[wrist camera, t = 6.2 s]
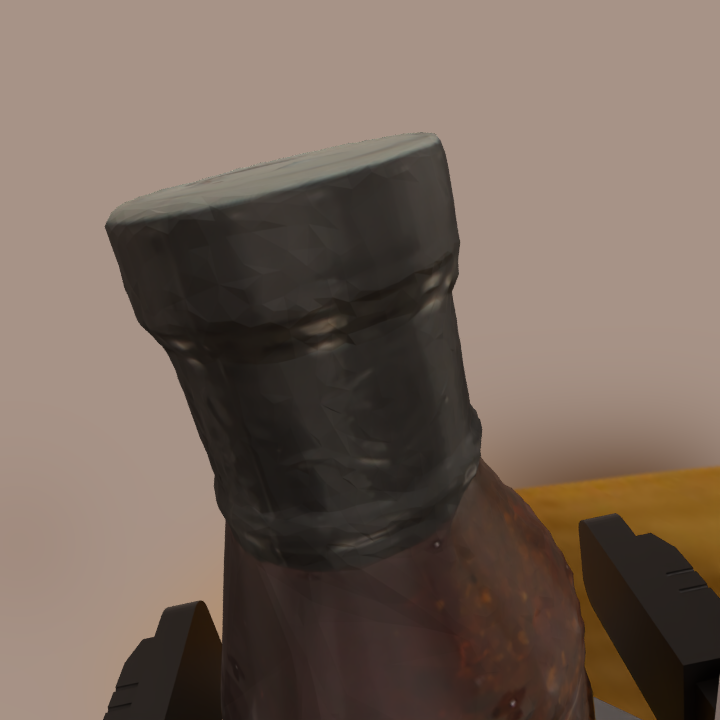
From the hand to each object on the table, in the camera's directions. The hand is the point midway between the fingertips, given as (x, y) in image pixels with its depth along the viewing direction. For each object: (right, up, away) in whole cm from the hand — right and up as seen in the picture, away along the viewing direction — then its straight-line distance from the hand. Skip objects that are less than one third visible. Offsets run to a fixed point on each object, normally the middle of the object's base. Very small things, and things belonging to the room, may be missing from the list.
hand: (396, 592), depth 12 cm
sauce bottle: (+2, -11, +2) cm, 11 cm away
